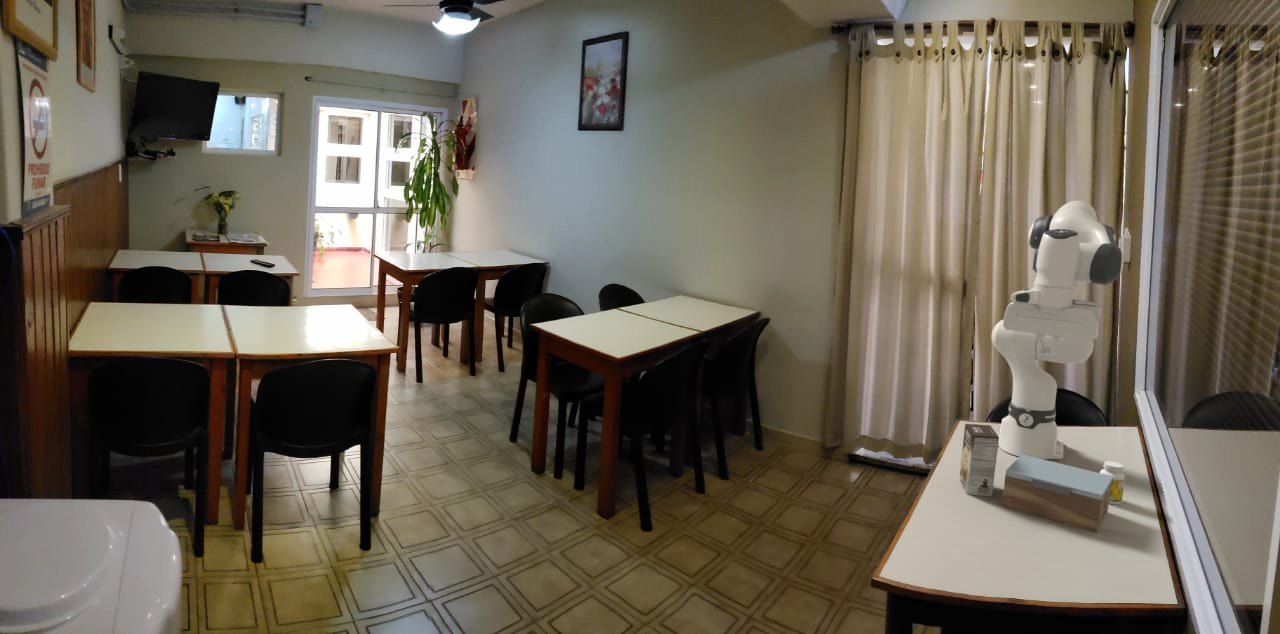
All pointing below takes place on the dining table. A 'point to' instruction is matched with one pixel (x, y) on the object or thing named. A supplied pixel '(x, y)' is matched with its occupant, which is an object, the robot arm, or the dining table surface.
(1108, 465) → the supplement bottle
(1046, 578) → the dining table surface
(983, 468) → the coffee box
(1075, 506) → the walnut box
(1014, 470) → the lid
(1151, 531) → the dining table surface
